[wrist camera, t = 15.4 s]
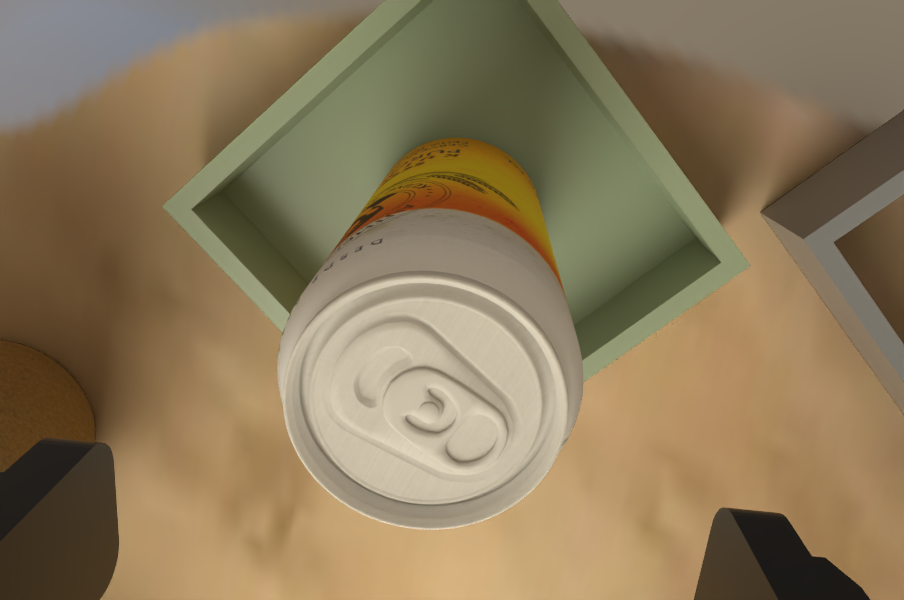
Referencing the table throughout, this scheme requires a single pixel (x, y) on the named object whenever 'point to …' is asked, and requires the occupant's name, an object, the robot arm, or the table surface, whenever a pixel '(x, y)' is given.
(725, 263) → the olive bin
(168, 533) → the table surface
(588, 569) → the table surface
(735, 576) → the robot arm
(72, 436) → the plant pot
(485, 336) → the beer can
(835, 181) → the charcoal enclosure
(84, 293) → the table surface
